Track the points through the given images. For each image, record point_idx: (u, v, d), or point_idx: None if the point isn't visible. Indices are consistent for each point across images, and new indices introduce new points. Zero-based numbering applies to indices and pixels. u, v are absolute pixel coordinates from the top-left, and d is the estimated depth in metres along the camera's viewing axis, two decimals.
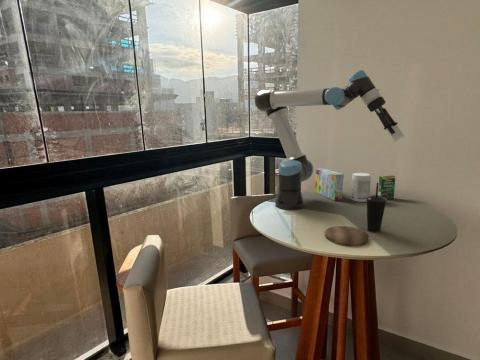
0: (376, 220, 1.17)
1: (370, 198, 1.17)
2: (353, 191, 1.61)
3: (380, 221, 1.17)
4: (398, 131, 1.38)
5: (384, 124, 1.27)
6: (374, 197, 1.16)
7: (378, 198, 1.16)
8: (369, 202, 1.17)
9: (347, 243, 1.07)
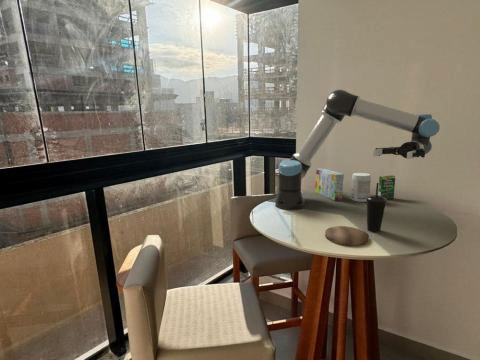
0: (376, 220, 1.17)
1: (370, 198, 1.17)
2: (353, 191, 1.61)
3: (380, 221, 1.17)
4: (378, 153, 1.28)
5: (424, 152, 1.18)
6: (374, 197, 1.16)
7: (378, 198, 1.16)
8: (369, 202, 1.17)
9: (347, 243, 1.07)
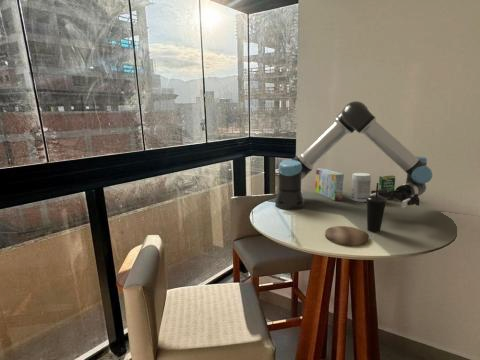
0: (376, 220, 1.17)
1: (370, 198, 1.17)
2: (353, 191, 1.61)
3: (380, 221, 1.17)
4: None
5: None
6: (374, 197, 1.16)
7: (378, 198, 1.16)
8: (369, 202, 1.17)
9: (347, 243, 1.07)
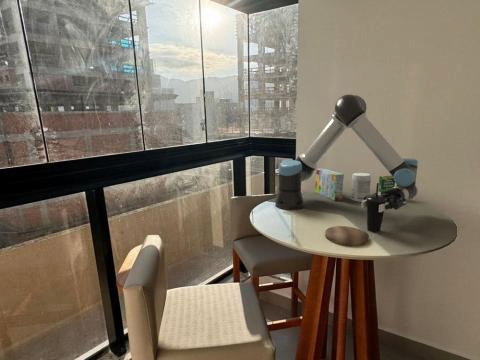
0: (376, 220, 1.17)
1: (370, 198, 1.17)
2: (353, 191, 1.61)
3: (380, 221, 1.17)
4: (366, 204, 1.21)
5: (398, 204, 1.16)
6: (374, 197, 1.16)
7: (378, 198, 1.15)
8: (369, 202, 1.17)
9: (347, 243, 1.07)
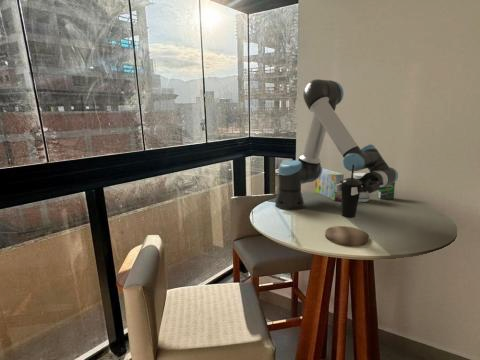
0: (350, 204, 1.08)
1: (345, 181, 1.08)
2: None
3: (355, 206, 1.09)
4: (341, 188, 1.12)
5: (372, 187, 1.08)
6: (349, 180, 1.08)
7: (353, 181, 1.07)
8: (343, 185, 1.08)
9: (347, 243, 1.07)
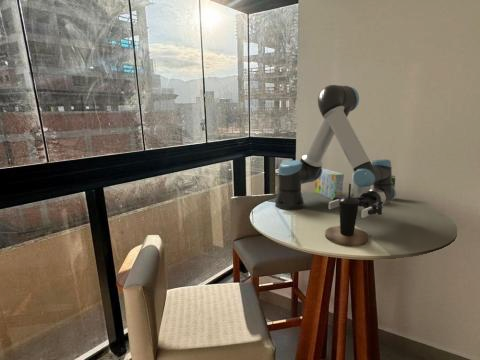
0: (348, 223, 1.10)
1: (342, 200, 1.10)
2: (353, 191, 1.61)
3: (353, 224, 1.11)
4: (334, 205, 1.17)
5: (381, 209, 1.08)
6: (346, 199, 1.10)
7: (350, 200, 1.09)
8: (341, 204, 1.10)
9: (347, 243, 1.07)
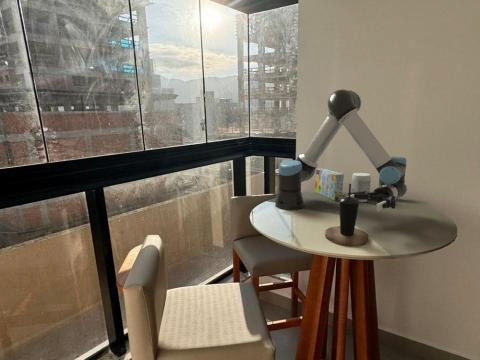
0: (348, 223, 1.10)
1: (342, 200, 1.10)
2: (353, 191, 1.61)
3: (353, 224, 1.11)
4: None
5: None
6: (346, 199, 1.10)
7: (350, 200, 1.09)
8: (341, 204, 1.10)
9: (347, 243, 1.07)
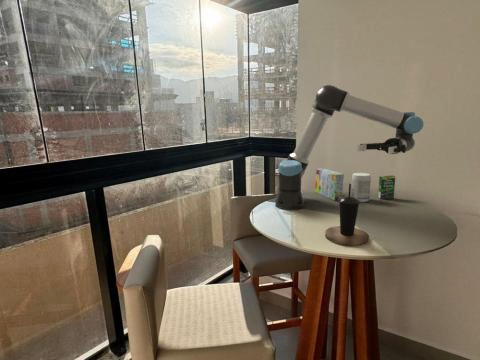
0: (348, 223, 1.10)
1: (342, 200, 1.10)
2: (353, 191, 1.61)
3: (353, 224, 1.11)
4: (362, 148, 1.33)
5: (405, 148, 1.24)
6: (346, 199, 1.10)
7: (350, 200, 1.09)
8: (341, 204, 1.10)
9: (347, 243, 1.07)
